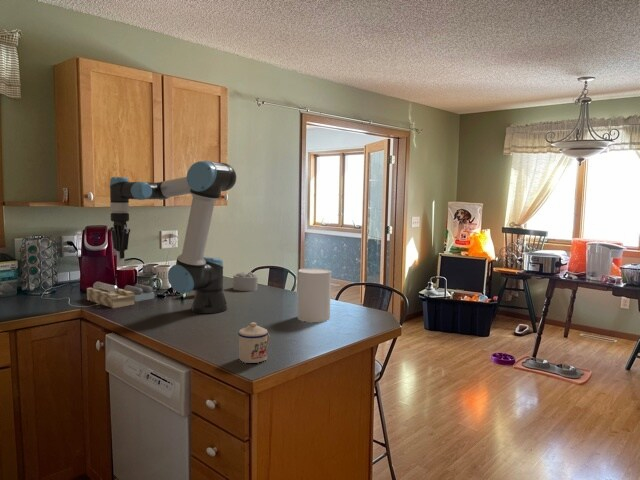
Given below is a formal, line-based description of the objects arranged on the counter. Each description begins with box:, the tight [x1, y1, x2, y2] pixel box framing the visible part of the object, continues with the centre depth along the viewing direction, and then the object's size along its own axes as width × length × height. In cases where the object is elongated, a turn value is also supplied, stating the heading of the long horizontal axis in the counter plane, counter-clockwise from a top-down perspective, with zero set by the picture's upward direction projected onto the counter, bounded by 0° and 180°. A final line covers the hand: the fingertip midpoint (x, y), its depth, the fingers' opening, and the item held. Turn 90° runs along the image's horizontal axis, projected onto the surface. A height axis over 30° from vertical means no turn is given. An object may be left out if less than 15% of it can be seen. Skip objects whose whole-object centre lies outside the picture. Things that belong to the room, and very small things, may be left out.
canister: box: [297, 267, 332, 323], centre depth 201 cm, size 14×14×20 cm
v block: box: [123, 283, 155, 303], centre depth 232 cm, size 11×10×6 cm
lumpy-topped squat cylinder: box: [232, 271, 258, 292], centre depth 259 cm, size 10×13×9 cm
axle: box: [92, 281, 119, 294], centre depth 226 cm, size 16×4×4 cm, turn 51°
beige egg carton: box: [86, 287, 135, 309], centre depth 224 cm, size 24×10×6 cm, turn 51°
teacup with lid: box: [238, 321, 271, 362], centre depth 152 cm, size 12×9×12 cm
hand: (120, 265), depth 216 cm, fingers closed
